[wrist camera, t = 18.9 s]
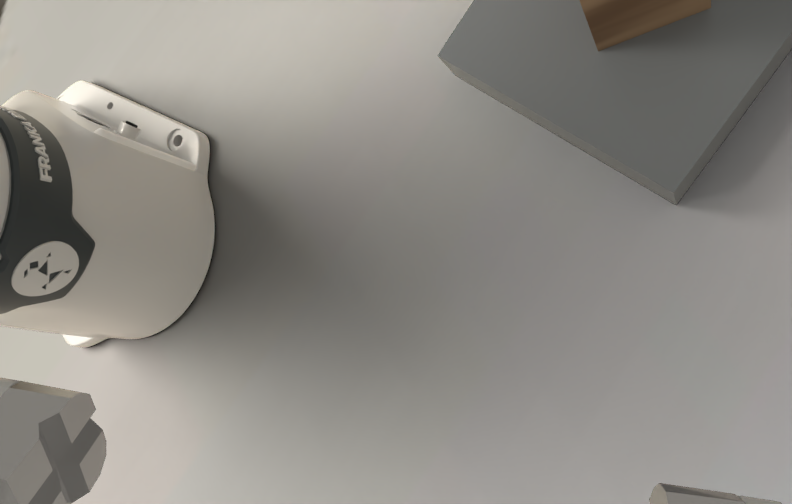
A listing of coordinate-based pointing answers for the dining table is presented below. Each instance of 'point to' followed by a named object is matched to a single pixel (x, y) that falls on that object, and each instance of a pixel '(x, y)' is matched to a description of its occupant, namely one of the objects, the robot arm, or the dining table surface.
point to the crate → (634, 17)
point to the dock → (626, 79)
